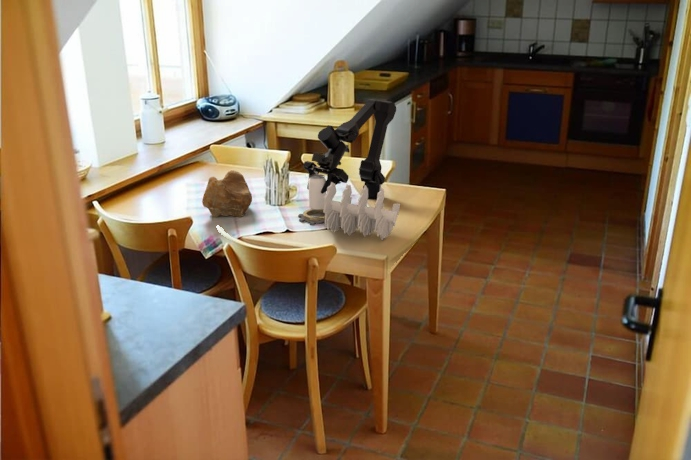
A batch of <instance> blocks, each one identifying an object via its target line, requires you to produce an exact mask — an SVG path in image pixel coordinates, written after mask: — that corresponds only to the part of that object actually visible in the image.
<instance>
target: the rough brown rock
mask: <svg viewBox="0 0 691 460" xmlns="http://www.w3.org/2000/svg"><path fill="white" fill-rule="evenodd" d="M252 202H253V196H252V193H251V191H250V188H249V185H248V183H247V181H246V180H245V178H244V175H243V174H242V173H241V172H239V171H237V170H228V172H227V173H226V174H225V175H224V177H223V178H222V179H219V180H218V178H217V177H215V176H210V177H209V178H208V181H207V185H206V188H205V191H204V192H203V196H202V206H203V207H204V208H207V209H208V211H209V213H210V215H211V216H212V217H214V218H217V217H220V216H223V217H225V216H227V217H228V216H233V217H235V218H242V217H243V216H244V215H245V214H246V212H247V210H248V209H249V208H250V206H251V204H252Z"/></svg>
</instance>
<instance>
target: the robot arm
mask: <svg viewBox="0 0 691 460" xmlns="http://www.w3.org/2000/svg"><path fill="white" fill-rule="evenodd" d="M396 113H397V106H396V104H395V102H394V101H388V100H378V99H373V98H372V99H371V98H369V99H367V100H366V102H365V104H364V105H363V106H362V107H360V109H359V110H358V111H357V112H356V114H354V115H353V117H351V118H350V119H349V120H347V121H345V122H342V123H341V124H340V125H339V126H337V128H336V129H335V128H334V126H333V125H327V126H326V127H324V128H322V129H321V130H320V131H319V132H318V134H317V139H318V140H319V141H320V143H321V144H323V146H324V147H325V148H326V149H328V151H327V152H324V153H319V152H313V153H312V158H311V161H309V160H305V161H304V162H303V164H302V168H303V169H304V170H305V171H306V172H307V173H308V179H309V178H310V177H309V176H310V175H314V174H319V173H320V174H322V175H327V176H326V182H325V184H324V186H323V188H322V190H321V193H322V194H323V193H325V192H326V193H327V187H328V186H330V184H331V182H333V183H335V186H336V185H339V184H341V183H344V184H347V183H348V181H349V179H350V176H349V175H348V174H347V172H346V171H345V170H344V169H343V168H337V167H338V166H341V165H342V162H341V161H342V158H343V156H344V155H345V153H351V152H350V147H349V144H346V143H350V144H352V143H354V142H355V141H356V140H357V139H358V137H359V134H360V130H361V129H362V127H363V126H364V125H365V124H366V123H367V122H368V121H369V119H370V118H371V117H372V116H373V117H374V119H375V120H374V121H375V124H374V127H373V132H372V135H371V136H372V137H371V140H370V145H369V149H368V152H367V157H365V158H364V159H361V160H360V165H359V168H358V170H359V171H358V172H359V173H358V174H359V178H360V181H361V183H362V182H364V184H363V185H362V189H364V185H366V186H367V188H368V200H369V199H371V200H377V194H378V192H380V188H382V185H383V184H385V182H386V177H385V175H384V174H383V173H382V165H381V161H380V159H381V155H382V152H383V146H384V142H385V138H386V134H387V130H388V126H389V124H390V123H391V122H392V121H393V120H394V117H395V115H396ZM307 191H309V188H308V185H307Z"/></svg>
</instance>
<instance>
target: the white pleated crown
mask: <svg viewBox="0 0 691 460" xmlns="http://www.w3.org/2000/svg"><path fill="white" fill-rule="evenodd" d="M351 186H352V185H351V184H346V185H345V188H344V189H343V190H342V198H341V200H340V201H337V200H333V199H334V197H335V195H336V194H337V188H336V187H337V186H336V185H335V183H333V182H331V184H330V186H328V187H327V191H326V196H325V198H324V200H325V206H324V210H323V212H324V213H325V224H324V225H326V228H327V231H329V230H330V231H331V233H332V234H334V233H335V231H340V228H341V229H342V230H343V234H347V235H348V236H350V237H351V235H352V234H353V233H355V232H357V230H358V229H359V233H362V234H363V237H364V238H366V237H367V236H372V235H371V234H372V233H374V232H376V237H379V238H380V240H381V241H384V239H386V238H388V236H389V235H390V234H391V233H392V231H393V229H394V227H395V226H396V222H397V219H398V216H399V214H400V209H401V208H400V206H401V203H393V204H392V207H391V209H390V210H389V209H384V204H385V203H384V200H385V190H384V189H383V187H381V188H380V192H378V194H377V199H376V201H375V203H374V206H375V207H371V206H368V205H367V204H368V200H369V198H368V188H367V186H366V185H364V184H363V186H364V189H363V188H361V189H360V196H359V197H358V204H355V203H352V199H353V197H352V194H353V192H352V187H351Z"/></svg>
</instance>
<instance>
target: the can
mask: <svg viewBox="0 0 691 460" xmlns="http://www.w3.org/2000/svg"><path fill="white" fill-rule="evenodd" d="M309 177H310V178H309ZM326 180H327V178H326V176H325V174H322V173H320V174H314V175H310V176H309V175H308V182H307V186H308V188H309V190H308V207H309V208H310V209H313V210H322V209H324V206H325V200H324V198H325V196H326V194H327V191H326V192H325V193H323V194H322V193H321V190H322V188H323V186H324V184H325V182H326Z"/></svg>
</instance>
